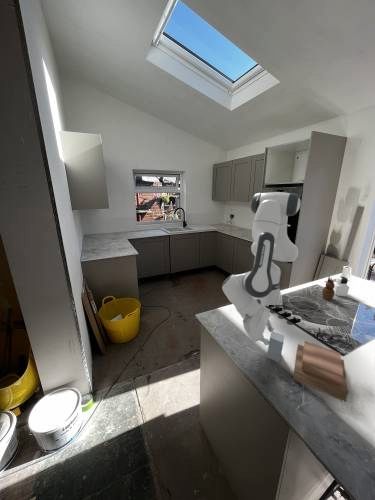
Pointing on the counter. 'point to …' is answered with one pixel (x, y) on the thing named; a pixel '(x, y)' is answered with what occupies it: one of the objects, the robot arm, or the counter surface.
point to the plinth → (319, 380)
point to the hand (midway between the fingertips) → (270, 337)
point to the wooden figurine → (328, 290)
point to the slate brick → (275, 346)
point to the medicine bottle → (341, 286)
